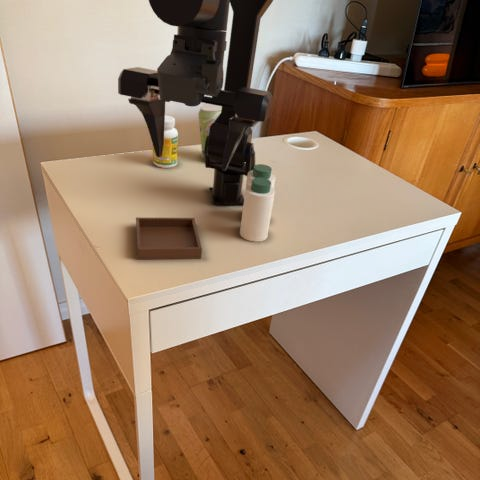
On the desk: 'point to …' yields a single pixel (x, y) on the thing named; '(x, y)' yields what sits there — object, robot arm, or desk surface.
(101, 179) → the desk surface
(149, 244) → the tray
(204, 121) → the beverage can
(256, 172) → the white bottle
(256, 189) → the white bottle
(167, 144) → the supplement bottle
